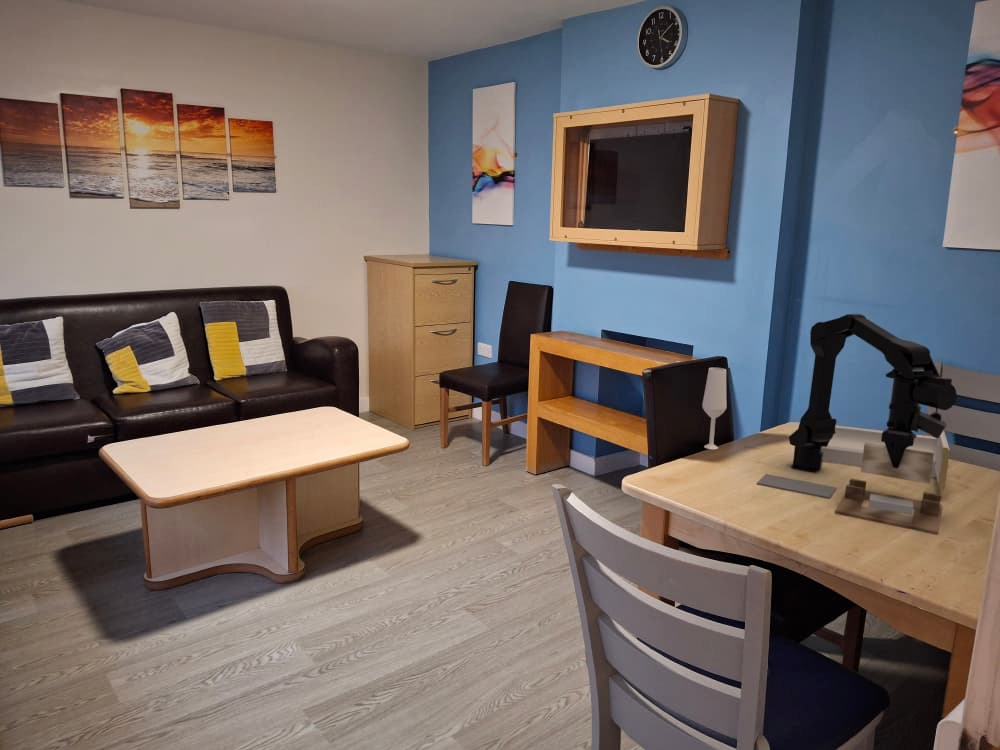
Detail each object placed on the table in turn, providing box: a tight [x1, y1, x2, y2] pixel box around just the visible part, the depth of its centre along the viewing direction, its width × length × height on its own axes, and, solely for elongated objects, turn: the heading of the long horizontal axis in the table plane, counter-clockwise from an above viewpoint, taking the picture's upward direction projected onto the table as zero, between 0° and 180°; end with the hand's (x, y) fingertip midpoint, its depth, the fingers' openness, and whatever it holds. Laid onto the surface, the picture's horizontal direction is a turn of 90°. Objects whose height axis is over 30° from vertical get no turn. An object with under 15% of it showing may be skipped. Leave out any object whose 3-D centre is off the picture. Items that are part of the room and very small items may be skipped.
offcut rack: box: [834, 478, 943, 535], centre depth 165 cm, size 20×20×4 cm
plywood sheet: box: [860, 443, 934, 485], centre depth 166 cm, size 14×3×6 cm, turn 56°
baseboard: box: [935, 429, 951, 492], centre depth 185 cm, size 31×3×12 cm, turn 151°
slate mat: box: [756, 473, 837, 500], centre depth 180 cm, size 17×9×1 cm, turn 56°
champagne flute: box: [701, 367, 727, 450], centre depth 208 cm, size 7×7×24 cm
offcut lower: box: [860, 500, 914, 524], centre depth 160 cm, size 10×5×2 cm, turn 56°
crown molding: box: [821, 425, 937, 478], centre depth 196 cm, size 31×12×4 cm
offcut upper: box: [869, 494, 913, 515], centre depth 159 cm, size 8×4×2 cm, turn 60°
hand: (896, 466), depth 167 cm, fingers closed on plywood sheet, 3 cm apart
